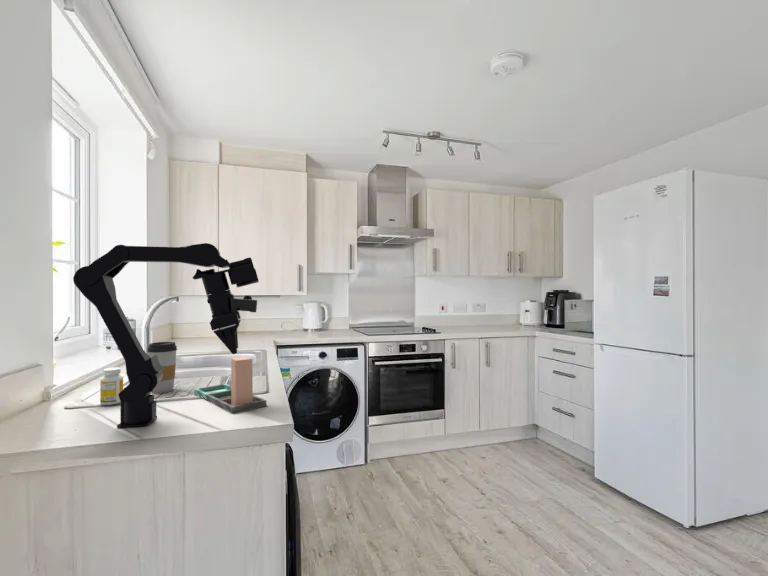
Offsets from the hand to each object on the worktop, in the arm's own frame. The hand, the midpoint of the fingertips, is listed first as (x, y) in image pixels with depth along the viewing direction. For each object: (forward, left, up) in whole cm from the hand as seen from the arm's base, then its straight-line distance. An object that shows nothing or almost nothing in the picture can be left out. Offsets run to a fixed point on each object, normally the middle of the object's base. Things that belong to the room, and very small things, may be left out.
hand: (235, 350), depth 103 cm
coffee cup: (-28, +28, -16) cm, 43 cm away
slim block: (0, +7, -16) cm, 18 cm away
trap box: (-5, +14, -16) cm, 22 cm away
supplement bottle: (-37, +16, -16) cm, 44 cm away
